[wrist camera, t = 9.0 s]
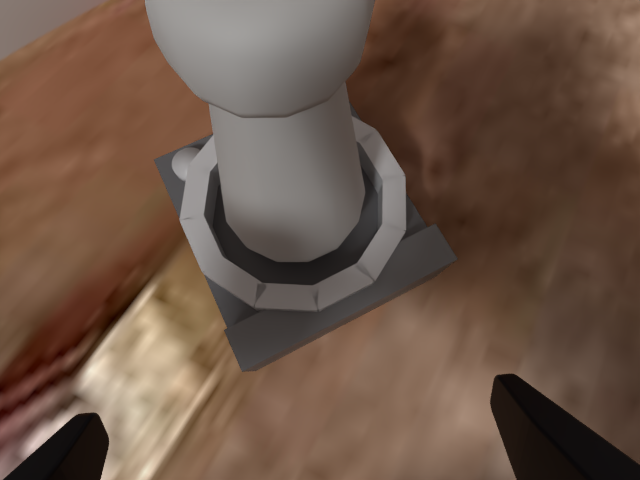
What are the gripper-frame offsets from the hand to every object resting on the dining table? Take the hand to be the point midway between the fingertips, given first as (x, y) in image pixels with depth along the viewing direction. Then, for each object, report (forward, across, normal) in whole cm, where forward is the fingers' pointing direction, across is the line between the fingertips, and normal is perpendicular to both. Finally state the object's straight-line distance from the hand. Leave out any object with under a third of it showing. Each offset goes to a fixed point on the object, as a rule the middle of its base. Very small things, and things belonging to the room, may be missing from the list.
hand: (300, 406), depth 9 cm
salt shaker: (+11, 0, 0) cm, 11 cm away
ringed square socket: (+13, 0, +2) cm, 13 cm away
